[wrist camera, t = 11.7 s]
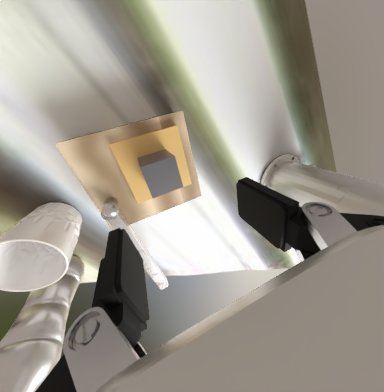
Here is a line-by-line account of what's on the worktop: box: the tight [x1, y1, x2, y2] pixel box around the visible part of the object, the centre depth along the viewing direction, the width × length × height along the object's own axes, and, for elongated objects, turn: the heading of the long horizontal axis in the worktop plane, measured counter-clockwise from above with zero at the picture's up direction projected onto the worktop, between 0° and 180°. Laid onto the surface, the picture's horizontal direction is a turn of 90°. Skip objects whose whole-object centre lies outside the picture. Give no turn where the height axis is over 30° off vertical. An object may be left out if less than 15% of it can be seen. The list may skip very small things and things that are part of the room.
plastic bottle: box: [0, 255, 84, 392], centre depth 21 cm, size 6×7×20 cm
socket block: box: [55, 111, 201, 231], centre depth 25 cm, size 16×14×5 cm
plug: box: [109, 125, 192, 204], centre depth 21 cm, size 9×9×9 cm
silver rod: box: [101, 198, 168, 290], centre depth 26 cm, size 21×2×3 cm, turn 16°
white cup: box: [0, 203, 83, 292], centre depth 21 cm, size 8×8×10 cm
